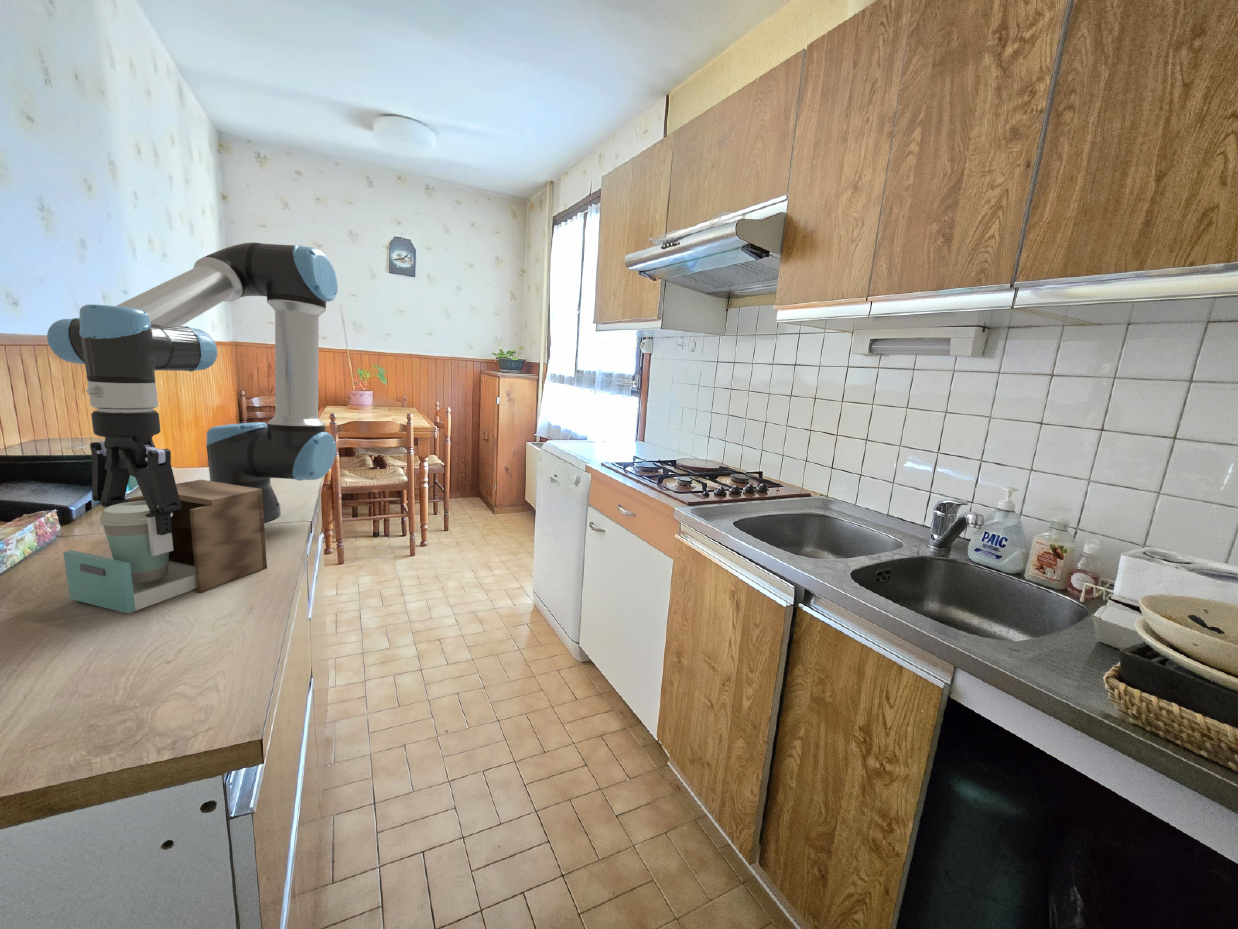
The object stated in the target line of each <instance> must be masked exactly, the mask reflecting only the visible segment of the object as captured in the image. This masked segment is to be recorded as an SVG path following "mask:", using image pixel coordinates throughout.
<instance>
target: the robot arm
mask: <svg viewBox="0 0 1238 929" xmlns="http://www.w3.org/2000/svg"><path fill="white" fill-rule="evenodd" d="M337 294H338V279H337V275H336V271H335V269H334V266H333V264H332V263H331V261H330V259H329V258H328V257H327V255H326V254H325V253H324V252H323V251H321V250H320V249H318V248H315V247H309V246H303V245H300V244H294V245H293V244H292V245H291V244H276V243H260V242H243V243H238V244H234V245H231V246H229V247H225V248H222V249H219V250H217V251H214V252H212V253H209V254H207V255H205V256H203V257H201V258H199V259H198V260H196V261H195V262H194V264H193V268H192V269H190V270H187V271H185V272H183V273H180V274H179V275H176V276H174V277H173V278H171V279H169V280H165V282H162V283H160V284H159V285H156V286H154V287H152V288H150V289H148V290H146V291H143V292H142V293H140V294H137V295H135V296H133V297H131V298H129V299H127V300H125V301H122V302H121V303H119V304H117V305H105V304H84V305H82V306H81V307H80V308H79V317H73V318H63V319H62V318H61V319H58V320H57V321H55V322H53V323H52V324H51V325H50V326H49V328H48V330H47V334H46V339H47V343H48V346H49V347H50V349H51V351H52V352H53V353H54V355H56V356H57V357H58V358H59V359H61V360H63V361H65V362H67V363H71V364H80V365H84V366H85V367H84V368H85V373H86V374H85V375H86V380H87V389H86V394H88V397H89V405H90V407H91V408H94V409H96V410H94V411H92V412H91V414H90V415H91V423H92V424H91V425H92V430H93V431H92V432H93V434H94V435H95V436H97V437H103V438H105V439H104V441H95V442H92V441H91V442H90V444H89V447H90V452H91V456H92V463H91V464H92V466H91V467H92V469H91V470H92V473H91V474H92V475H91V480H92V481H91V499H92V501H93V502H99V503H100V505H101V507H103V508H104V509H105V508H107V507H109V506H112V505H116V504H120V503H126V502H129V500H128V501H127V498H126V494H127V489H128V485H129V481H130V476H131V477H134V478H135V480H136V483H137V485H138V488H139V489H140V492H141V494H142V496H143V497H144V499H145V501H146V503H147V506H148V508H149V510H150V513H148V514H147V515H146V516H147V524H148V533H149V542H150V551H151V555H152V556H156V555H160V554H163V553H167V552H170V551H173V542H172V527H171V526H172V525H171V513H172V512H174V511H177V510H181V503H180V499H179V495H178V491H177V487H176V484H177V483H176V480H175V476H174V472H173V467H172V460H171V458H172V451H171V450H170V449H169V448H162V449H161V448H156V446H155V443H154V440H153V437H154V436H155V435H158V434H159V433H160V432H161V424H160V423H161V422H160V413H159V412H158V411H157V410H154V409H156V408H157V407H159V400H158V393H157V392H158V391H157V383H156V373H155V371H168V372H169V371H171V372H173V371H174V372H175V371H176V372H177V371H182V372H190V373H191V372H194V371H203V370H207V369H209V368H210V367H212V366H213V365H214V364H215V362H216V361H217V360H216V359H217V358H218V348H217V343H216V342H215V340H214V338H212V337H211V335H210V334H208V333H207V332H206V331H204V330H203V329H200V328H196V327H195V328H193V327H190V326H188V325H187V326H186V325H185V324H187V323H189V322H190V321H191V320H192V321H193V320H194V319H195V318H197V317H198V316H201V315H202V314H204V313H206V312H207V311H209V310H211V309H212V308H214V307H216V306H217V305H219V304H221V303H222V302H227V303H230V302H235V301H237V300H239V299H241V298H244V297H245V298H246V297H266V303H267V304H268V305H269V306H270V307H271V308H272V309H273V311H274V350H275V351H274V353H275V354H274V358H275V359H274V360H275V361H274V368H275V369H274V374H275V375H274V377H275V378H274V379H275V384H274V388H275V389H274V391H275V394H274V395H275V396H274V397H275V398H274V399H275V400H274V401H275V404H274V405H275V408H274V409H275V411H274V414H275V415H274V417H273V418H271V419H270V420H268V421H267V423H266V422H263V421H255V422H240V423H231V424H223V425H217V426H216V425H215V426H212V427H210V428H209V429H208V430H207V432H206V444H205V448H206V455H207V462H208V474H209V475H208V476H209V481H214V482H220V483H226V484H233V485H239V486H246V487H252V488H258V489H262V497H263V513H264V523H266V522H270V521H273V520H275V519H277V518H279V517H281V514H282V513H281V505H280V502H279V501H278V498H277V496H276V493H275V492H274V489H273V487H272V485H271V479H285V480H296V481H299V482H300V481H304V480H305V481H315V480H319V479H321V478H323V477H324V476H326V475H327V474H328V472H329V471H330V469H331V468H332V466H333V464H334V461H335V458H336V454H337V444H336V441H335V437H334V436H333V435H332V434H330V433H329V432H327V431H326V424H325V423H324V422H323V421H322V420H321V419H320V418H319V329H320V328H319V319H320V317H321V315H323V313H325V312H326V311H327V302H328V303H329V302H331V301H334V300H335V298H336V295H337ZM183 325H185V326H183ZM171 503H172V504H171ZM157 506H158V507H157Z"/></svg>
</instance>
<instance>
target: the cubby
mask: <svg viewBox="0 0 1238 929" xmlns="http://www.w3.org/2000/svg"><path fill="white" fill-rule="evenodd" d="M176 487H177V491H178V495H179V499H180V503H181V510H177V511H174V512H172V513H173V516H172V517H171V525H172V526H171V527H172V542H173V551H170V552H169V561H173V562H178V563H182V564H187V565H192V566H195V575H196V585H197V588H196V589H193V590H190V591H189V592H195V593H197V594H202V593H205V592H208V591H210V590H213V589H215V588H218V587H221V586H223V585H226V584H228V583H231V582H234V581H237V580H239V579H242V578H245V577H246V576H250V575H252V574H256V573H258V572H260V571H262V570H266V569H268V562H267V561H268V560H267V545H266V532H265V529H266V528H265V522H264V513H263V497H262V489H258V488H252V487H246V486H239V485H233V484H226V483H220V482H214V481H210V480H207V479H206V480H205V479H196V480H191V481H183V482H179V483H176ZM126 499H127V501H128V500H129V502H134V501H145V499H144V497H143V495H137V496H134V497H133V496H132V497H127V498H126ZM171 504H172V503H171Z"/></svg>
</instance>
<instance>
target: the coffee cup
mask: <svg viewBox="0 0 1238 929" xmlns="http://www.w3.org/2000/svg"><path fill="white" fill-rule="evenodd" d="M157 507H158V506H157ZM148 513H150V510H149V508H148V506H147V503H146V501H134V502H126V503H120V504H116V505H112V506H109V507H107V508H105V507H104V509H103V510H102V515H101V516H100V518H99V519H100V521H99V524H100V525H103V529H104V534H105V536H106V539H107V542H108V545H109V546H108V547H109V549H110V553H111V557H112V559H114V560H119V561H123V562H128V563H130V568H131V576H132V584H138V583H145V582H150V581H154V580H157V579H160V578H162V577H164V576H166V575H167V574H168V563H169V552H167V553H163V554H160V555H156V556H152V555H151V551H150V542H149V533H148V524H147V516H146V515H147V514H148ZM172 516H173V513H171V517H172Z"/></svg>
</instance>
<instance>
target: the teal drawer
mask: <svg viewBox="0 0 1238 929" xmlns="http://www.w3.org/2000/svg"><path fill="white" fill-rule="evenodd" d="M62 553H63V559H64V566H65V567H64V568H65V573H66V579H67V586H68V587H67V588H68V592H69V593H68V595H69V599H70V600H73V601H77V602H81V603H85V604H90V605H91V606H92V605H93V606H97V607H101V608H106V609H108V610H111V611H116V612H121V613H123V614H130V613H133V612H135V611H139V610H141V609H144V608H146V607H149V606H152V605H154V604H158V603H160V602H163V601H165V600H168V599H172V598H173V597H176V596H178V595H181V594H185V593H187V592H191V591H190V590H193V589H196V588H197V585H196V575H195V566H192V565H187V564H182V563H178V562H173V561H169V563H168V574H167V575H166V576H164V577H162V578H160V579H157V580H154V581H150V582H145V583H138V584H132V576H131V568H130V563H128V562H123V561H119V560H114V559H113V558H109V557H105V556H101V555H95V554H93V553H92V554H90V553H86V552H83V551H78V550H73V549H71V550H66V551H63V552H62Z"/></svg>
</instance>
